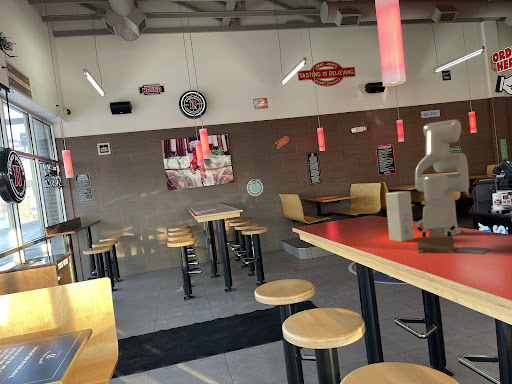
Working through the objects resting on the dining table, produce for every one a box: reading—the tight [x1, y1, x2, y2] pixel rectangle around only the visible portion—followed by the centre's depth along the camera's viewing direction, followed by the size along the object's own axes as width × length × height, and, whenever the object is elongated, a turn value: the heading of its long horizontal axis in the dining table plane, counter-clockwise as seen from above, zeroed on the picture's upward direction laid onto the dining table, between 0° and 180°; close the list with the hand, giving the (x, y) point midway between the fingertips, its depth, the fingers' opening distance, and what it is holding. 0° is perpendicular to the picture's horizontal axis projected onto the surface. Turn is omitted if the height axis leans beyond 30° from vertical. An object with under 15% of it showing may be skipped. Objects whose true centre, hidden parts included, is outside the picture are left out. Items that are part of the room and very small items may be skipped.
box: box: [428, 225, 445, 237], centre depth 170 cm, size 5×4×11 cm
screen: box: [417, 235, 455, 254], centre depth 164 cm, size 5×14×6 cm, turn 65°
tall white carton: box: [385, 191, 415, 243], centre depth 198 cm, size 9×9×25 cm
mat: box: [456, 246, 491, 255], centre depth 160 cm, size 10×10×1 cm
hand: (437, 240), depth 171 cm, fingers open, 9 cm apart
